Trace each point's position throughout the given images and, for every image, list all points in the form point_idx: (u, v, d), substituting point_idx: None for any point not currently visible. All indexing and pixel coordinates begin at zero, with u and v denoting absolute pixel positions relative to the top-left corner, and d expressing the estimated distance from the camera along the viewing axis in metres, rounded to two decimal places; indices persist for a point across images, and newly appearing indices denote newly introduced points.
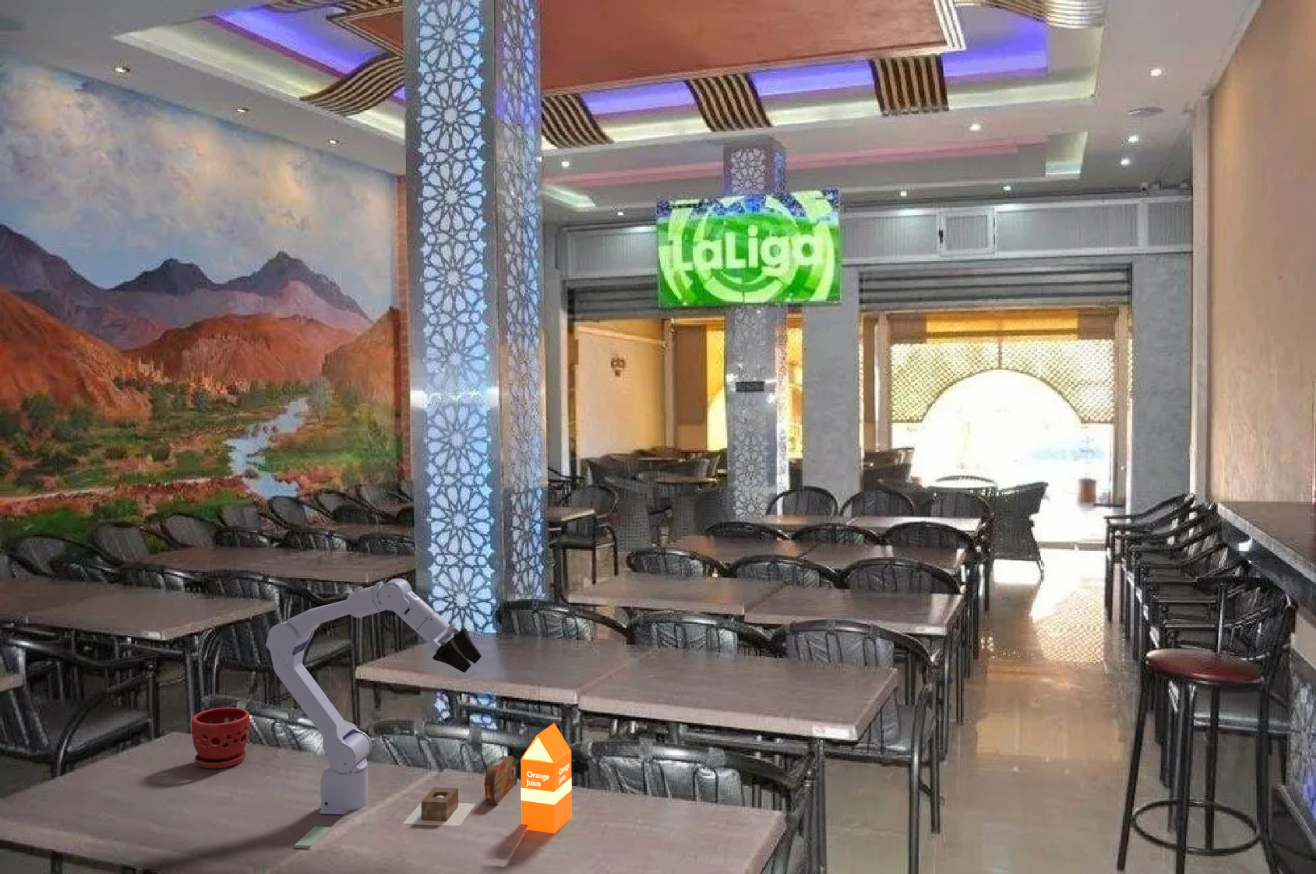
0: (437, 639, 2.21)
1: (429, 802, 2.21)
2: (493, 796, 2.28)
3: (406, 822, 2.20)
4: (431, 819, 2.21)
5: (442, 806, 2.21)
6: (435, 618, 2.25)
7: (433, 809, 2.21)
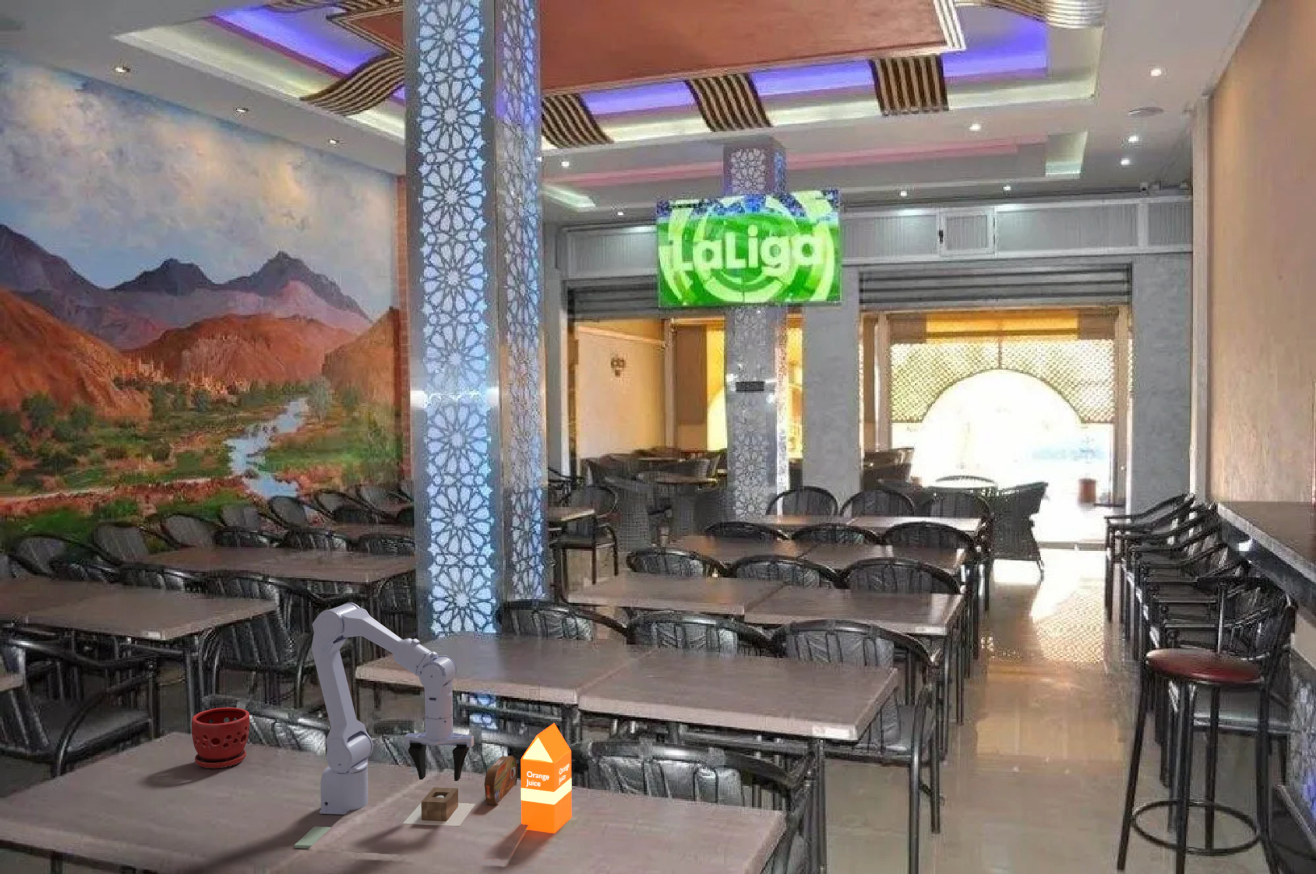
0: (410, 738, 2.24)
1: (429, 802, 2.21)
2: (493, 796, 2.28)
3: (406, 822, 2.20)
4: (431, 819, 2.21)
5: (442, 806, 2.21)
6: (429, 724, 2.22)
7: (433, 809, 2.21)
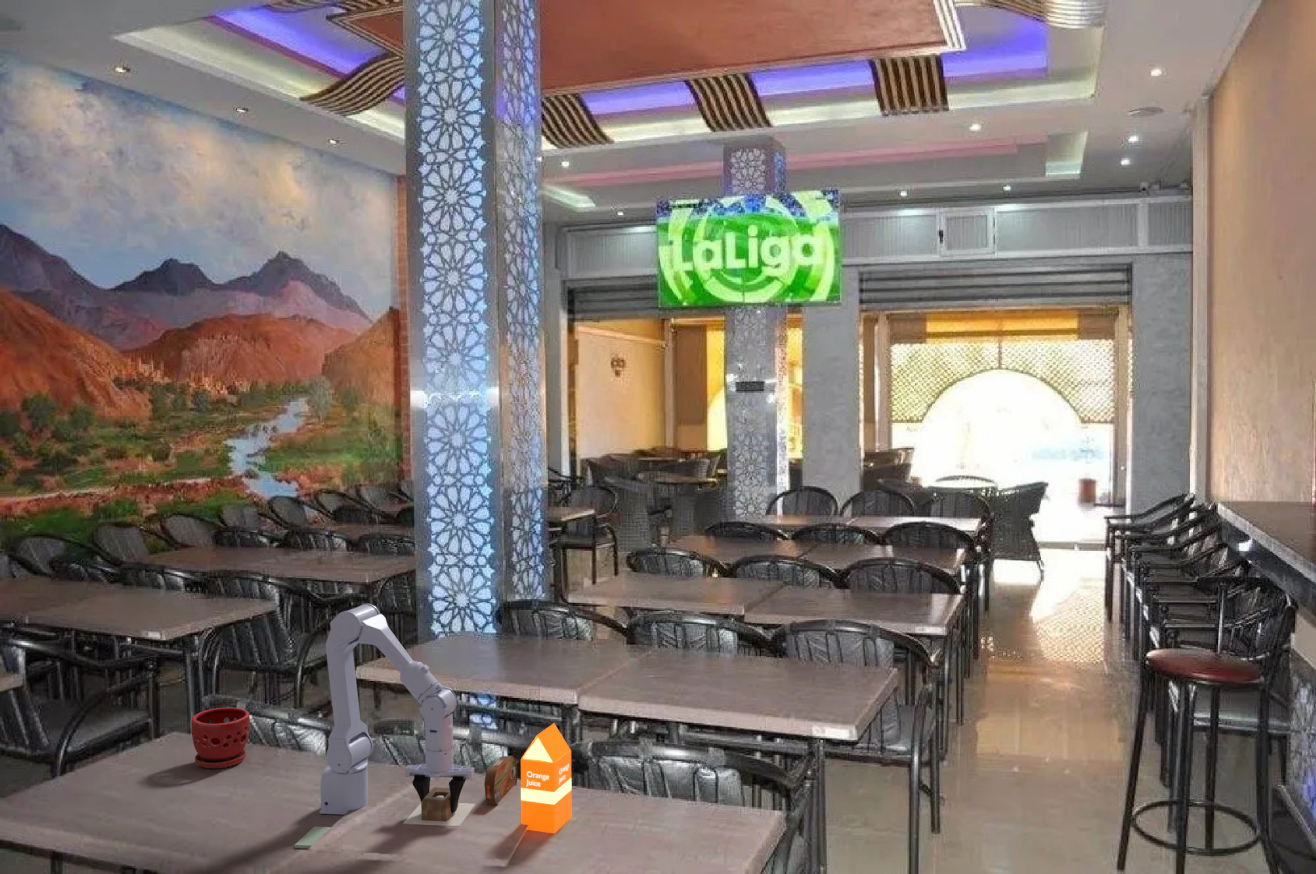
0: (411, 770, 2.24)
1: (429, 802, 2.21)
2: (493, 796, 2.28)
3: (406, 822, 2.20)
4: (431, 819, 2.21)
5: (442, 806, 2.21)
6: (429, 756, 2.22)
7: (433, 809, 2.21)
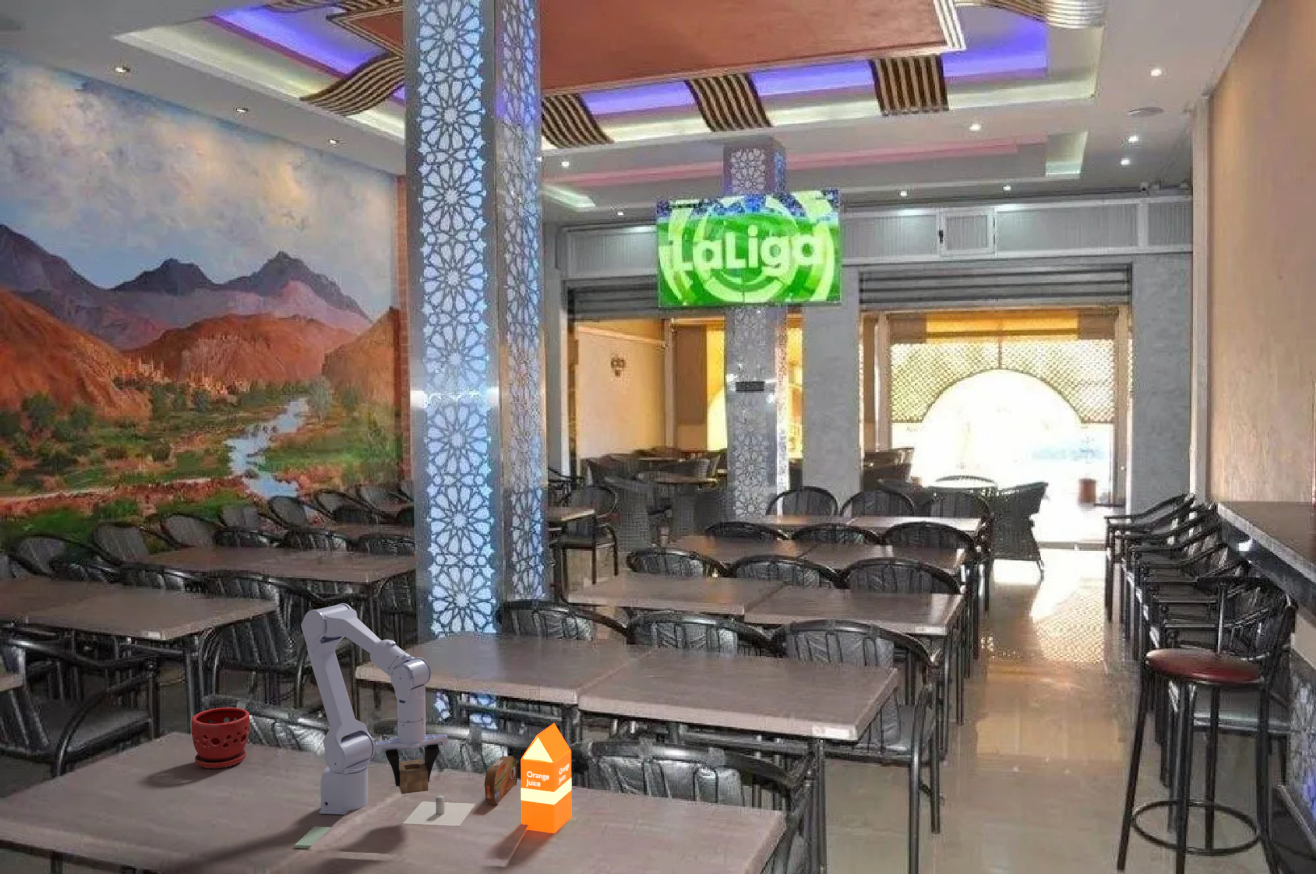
0: (383, 746, 2.18)
1: (409, 774, 2.17)
2: (493, 796, 2.28)
3: (406, 822, 2.20)
4: (412, 791, 2.18)
5: (423, 776, 2.18)
6: (406, 728, 2.18)
7: (414, 780, 2.18)
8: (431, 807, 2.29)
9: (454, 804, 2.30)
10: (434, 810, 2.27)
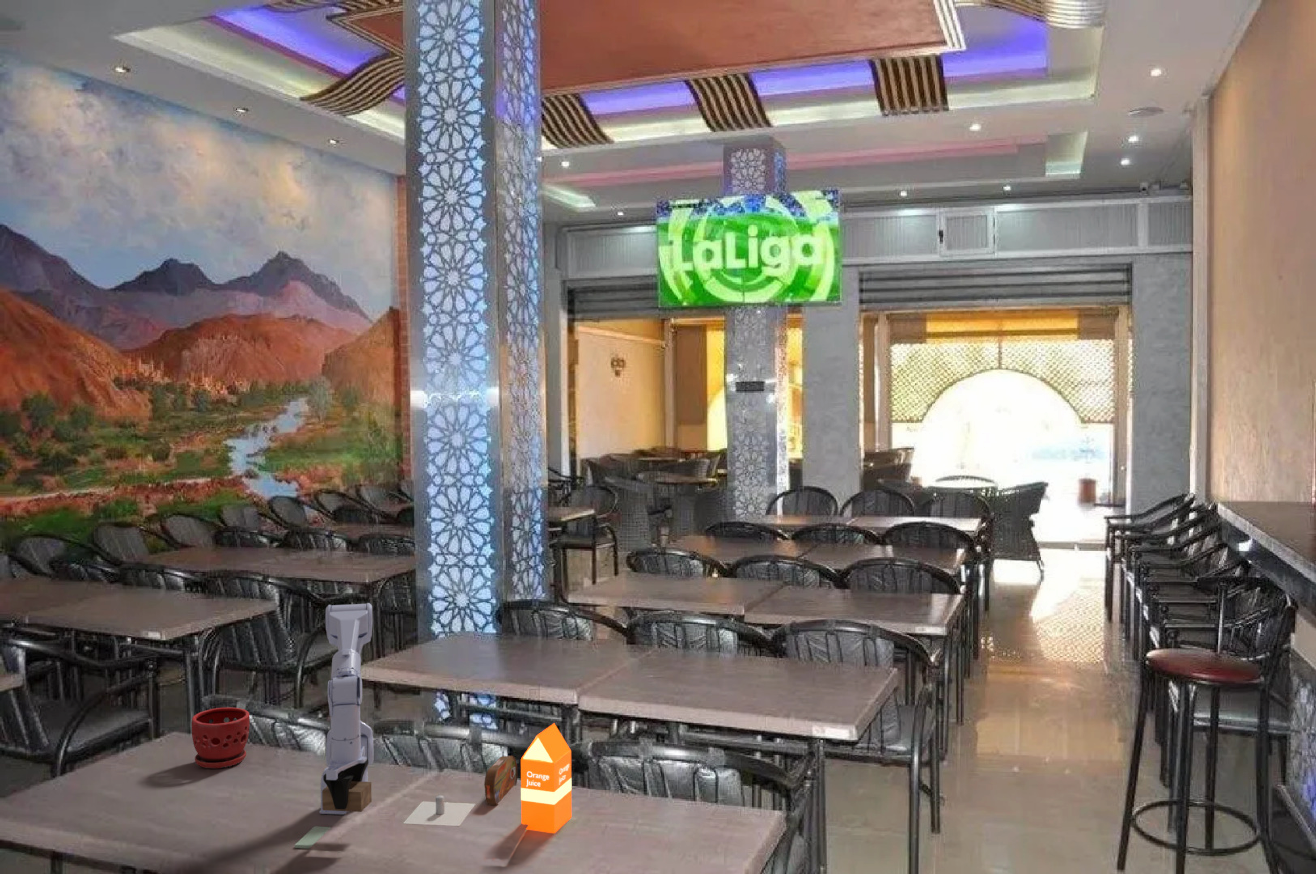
0: (339, 770, 2.07)
1: (364, 789, 2.12)
2: (493, 796, 2.28)
3: (406, 822, 2.20)
4: (365, 806, 2.13)
5: (369, 787, 2.15)
6: (355, 744, 2.12)
7: (366, 794, 2.13)
8: (431, 807, 2.29)
9: (454, 804, 2.30)
10: (434, 810, 2.27)
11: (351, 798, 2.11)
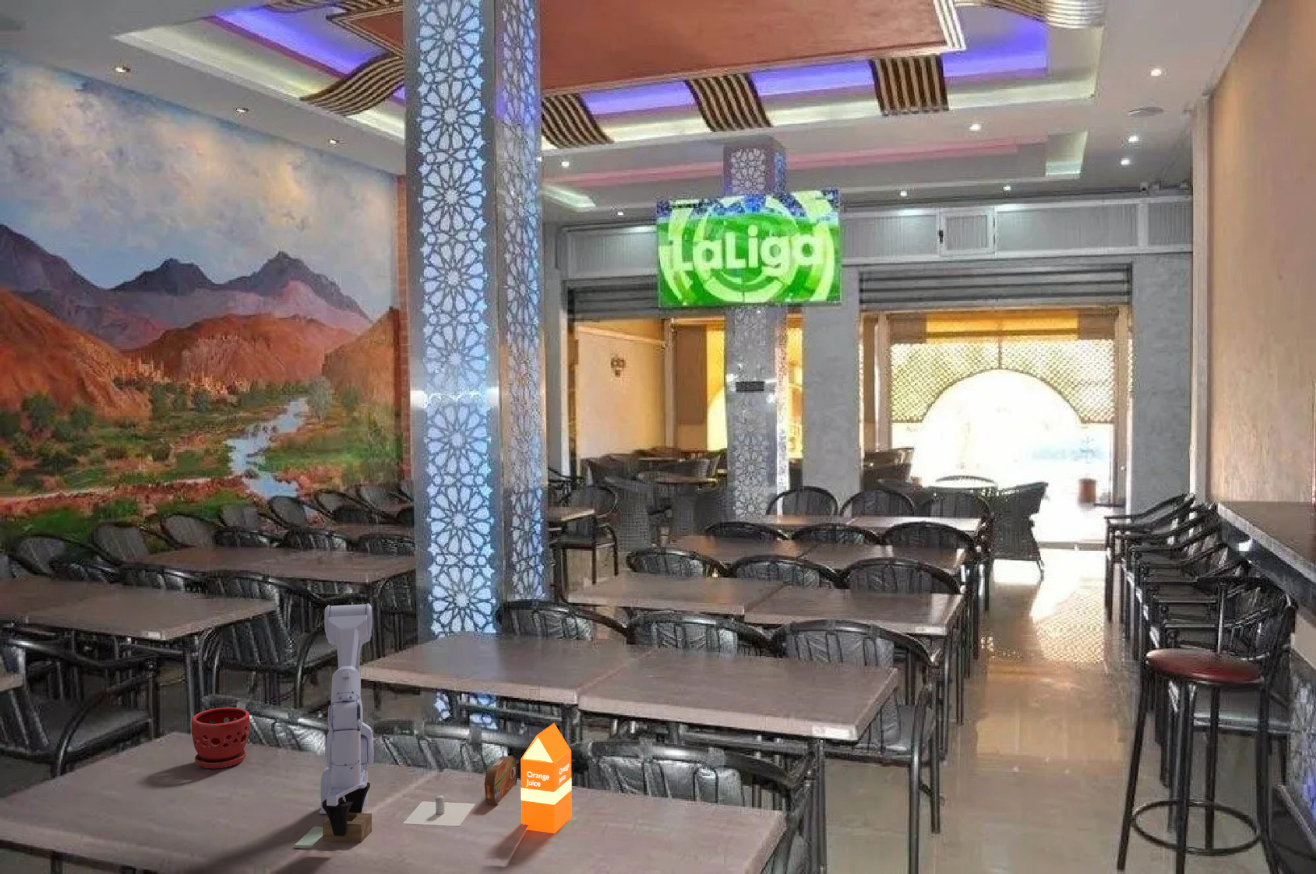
0: (340, 796, 2.08)
1: (364, 821, 2.12)
2: (493, 796, 2.28)
3: (406, 822, 2.20)
4: (365, 837, 2.13)
5: (370, 819, 2.15)
6: (355, 769, 2.12)
7: (366, 826, 2.13)
8: (431, 807, 2.29)
9: (454, 804, 2.30)
10: (434, 810, 2.27)
11: (351, 830, 2.11)
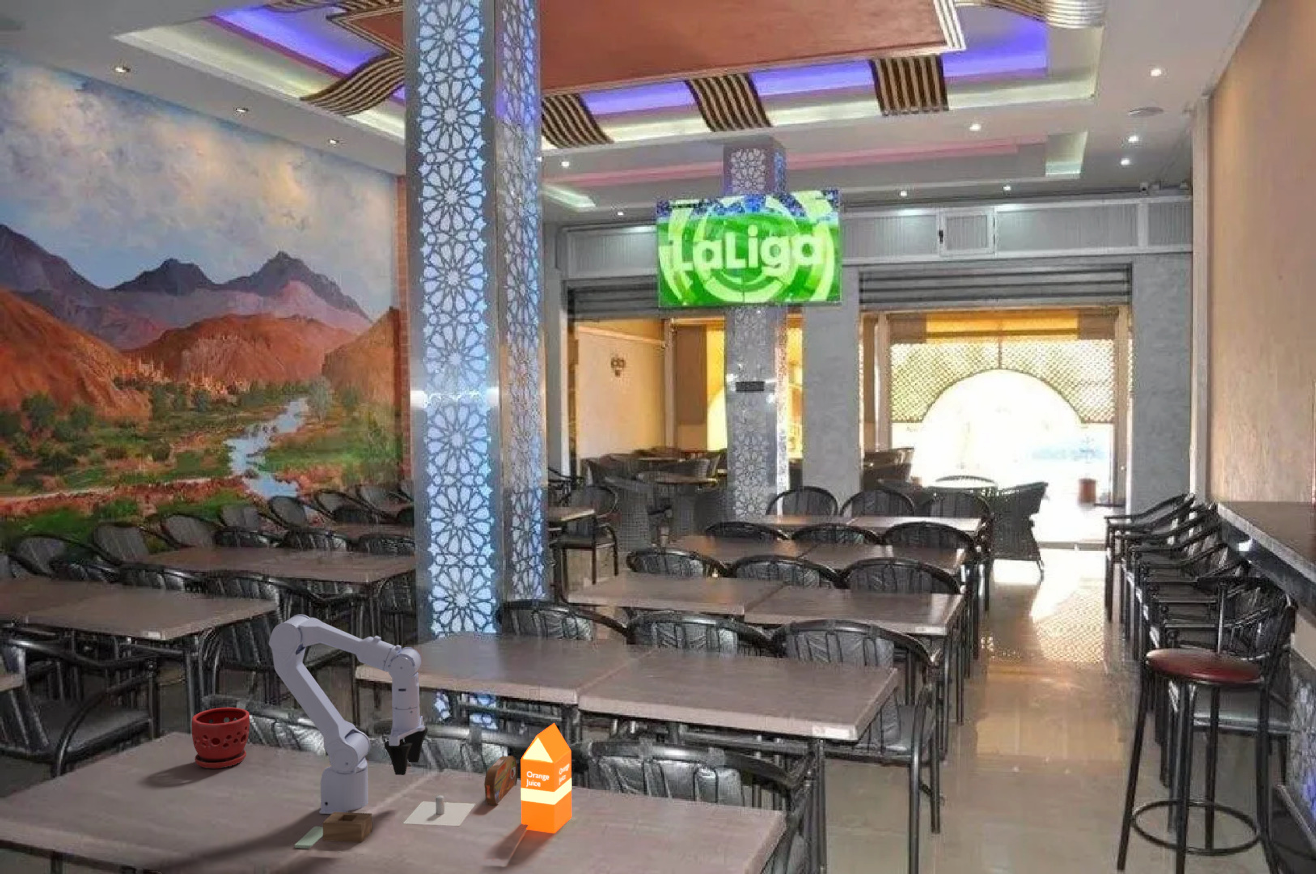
0: (401, 737, 2.24)
1: (364, 821, 2.12)
2: (493, 796, 2.28)
3: (406, 822, 2.20)
4: (365, 837, 2.13)
5: (370, 819, 2.15)
6: (414, 713, 2.28)
7: (366, 826, 2.13)
8: (431, 807, 2.29)
9: (454, 804, 2.30)
10: (434, 810, 2.27)
11: (351, 830, 2.11)
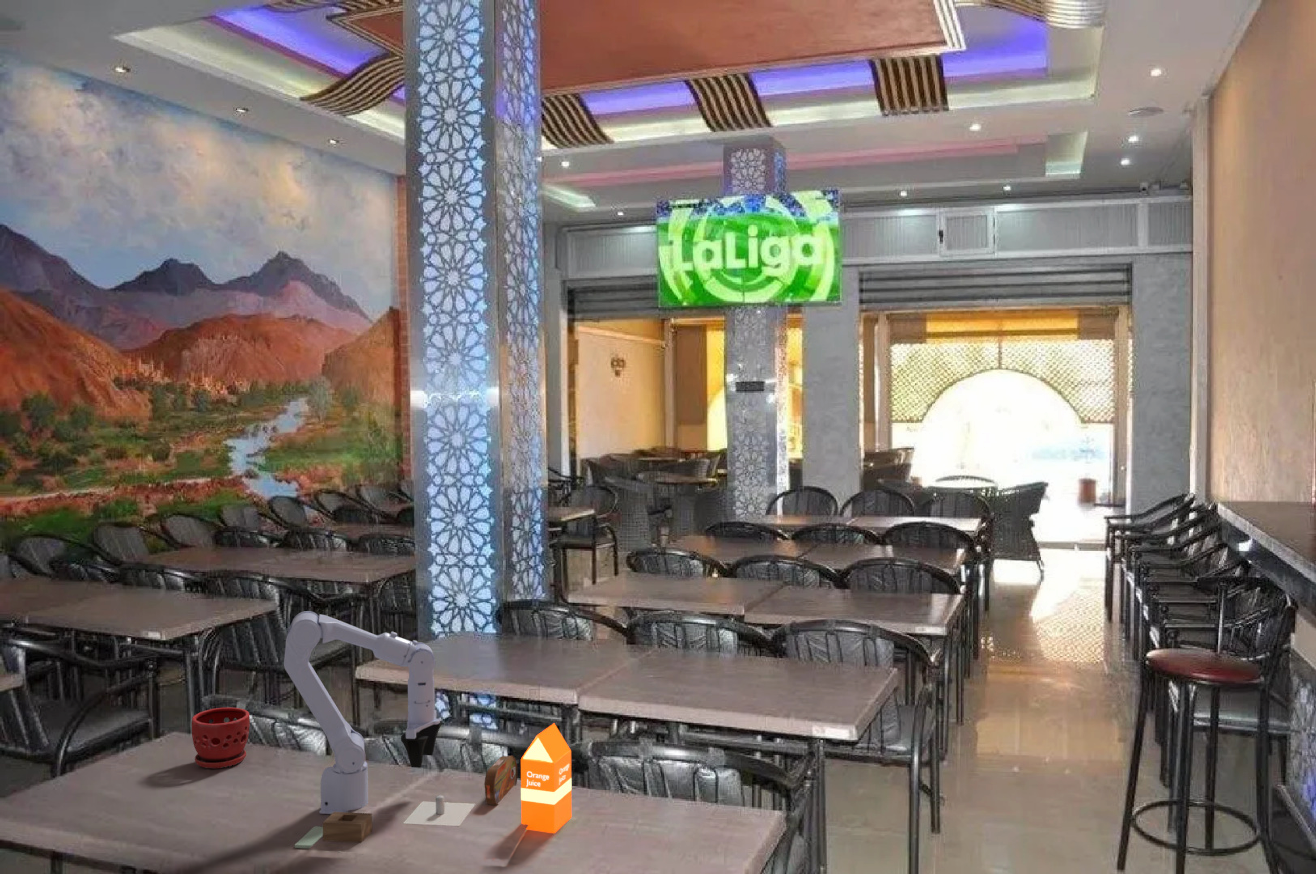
0: (417, 730, 2.28)
1: (364, 821, 2.12)
2: (493, 796, 2.28)
3: (406, 822, 2.20)
4: (365, 837, 2.13)
5: (370, 819, 2.15)
6: (430, 707, 2.32)
7: (366, 826, 2.13)
8: (431, 807, 2.29)
9: (454, 804, 2.30)
10: (434, 810, 2.27)
11: (351, 830, 2.11)
